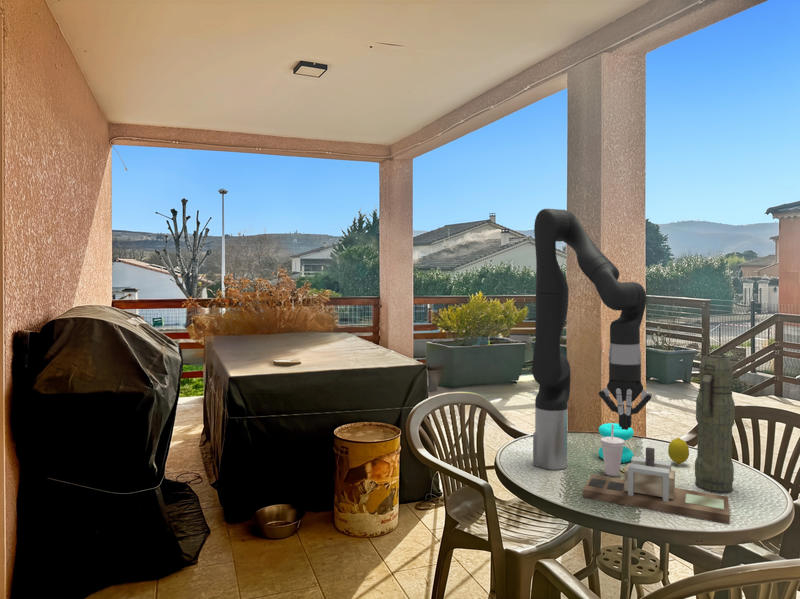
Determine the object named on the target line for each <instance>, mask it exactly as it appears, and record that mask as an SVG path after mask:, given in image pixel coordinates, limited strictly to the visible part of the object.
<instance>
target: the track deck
mask: <svg viewBox="0 0 800 599" xmlns="http://www.w3.org/2000/svg"><path fill="white" fill-rule="evenodd" d="M624 485H625V478H624V479H623V478H616V477H611V476H606V475H605V476H604V475H597V474H593V473H592V474H590V476H589V478H588V480H587V482H586V483H585V485H584V486H583V488H582V498H585V497H586V498H587V499H591V500H596V499H597V501H601V502H609V503H613V504H619V505H623V506H630V507H634V508H640V509H644V510H650V511H657V512H661V513H666V514H667V513H668V514H673V515H678V516H683V517H688V518H693V519H699V520H704V519H706V520H705V521H710V520H712V521H711V522H715V521H717V522H716V523H721V522H722V524H726V523H728V524H727V525H730V521H731V520H730V517H731V516H730V506H729V505H730V504H729V496H725V495H720V494H716V493H710V492H703V491H702V492H701V491H697V490H690V489H683V488H679V487H678V488H677V487H675V493H674V499H670V498H669V502H664V501H663V497H659V496H653V495H647V494H641V493H635V492H634V495H633V496H630V495H628V491H624Z"/></svg>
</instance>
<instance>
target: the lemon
mask: <svg viewBox="0 0 800 599" xmlns="http://www.w3.org/2000/svg"><path fill="white" fill-rule="evenodd" d="M689 449H690V448H689V446H688V444H687V442H686V441H685V440H684V439H682V438H680V437H677V438H673V439H672V440H671V441H670V442H669V444H668V449H667V450H668V451H667V452H668V456H669V458H670V460H672V462H675V464H676V465H681V464H683V463H685V462H686V461H687V460H688V459H689V455H690V450H689Z"/></svg>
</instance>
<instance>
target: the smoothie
mask: <svg viewBox="0 0 800 599" xmlns="http://www.w3.org/2000/svg"><path fill="white" fill-rule="evenodd" d="M613 435H614V424H612V426H611V437H603V436H602V437H601V438H600V444H601V447H602V450H603V458H604V459H603V464H604V473H605V475H607V476H610V477H611V476H612V477H616V476H617V477H618V476H620V471H621V464H622V463H621V458H622V451H623V446H625V440H623V439H620V438H617V437H613Z"/></svg>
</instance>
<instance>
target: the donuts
mask: <svg viewBox="0 0 800 599" xmlns="http://www.w3.org/2000/svg"><path fill="white" fill-rule="evenodd" d="M612 424H614V435H613V437H617V438H620V439H623V440H624V441H629V440H630V439H632V438H633V436H634V435H635V432H634V429H633V428H632V426H631V427H630V428H629V429H628V430H624V429H622V427H620V426H619V423H614V422H609V423H608V422H606V423H603V424H601V425H600V426H599V427H598V434H600V435H601V436H602V438H603V437H611V426H612ZM598 455H599V457H600V459H603V460H604V458H603V450H602V446H600V447H599V449H598ZM634 455H635V454H634V452H633V451H632V450H631V449H630V448H628V447H627V446H625V445H624V446H623V451H622V458H621V464H622V463H623V464H624V463H630V462H631V459H632V457H633V456H634ZM634 457H635V456H634Z"/></svg>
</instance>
